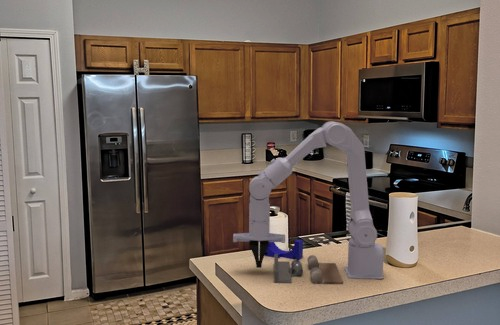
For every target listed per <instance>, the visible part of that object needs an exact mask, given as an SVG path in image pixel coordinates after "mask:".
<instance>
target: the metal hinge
mask: <svg viewBox="0 0 500 325" xmlns="http://www.w3.org/2000/svg"><path fill="white" fill-rule="evenodd" d="M273 263H274V264H273V268H274V269H273V270H274V272H273V273H274V274H273V276H274V283H276V284H278V283H279V284H280V283H281V284H292V279H293V278H292V277H299V276H301V275H302V274H303V271H304V269H303V263H302V262H301V260H296V259H293V260H292V262H291V263H290V261H284V260H283V261H281V260H280V261H279V258H278V254H274V257H273Z"/></svg>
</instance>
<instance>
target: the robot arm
mask: <svg viewBox="0 0 500 325" xmlns="http://www.w3.org/2000/svg"><path fill="white" fill-rule="evenodd" d="M327 144H329V145H330V146H332V147H334V148H337V149H339V150H340V151H342V152H343V153H344V154H345V156H346V167H347V176H348V188H349V200H350V212H349V221H348V224H347V231H348V233H349V234H350V237H349V239H348V247H347V248H348V249H347V266H344V271H345V273H346V275H347V278H348V279H365V280H366V279H368V280H369V279H371V280H383V279H384V276H383V274H384V249H383V248H384V247H383V245H382V244H381V243H376V241H377V238H378V231H377V229H376V228H375V226H374V221H373V218H372V214H371V211H370V203H369V202H370V201H369V190H368V188H369V187H368V181H367V180H368V179H367V178H368V176H367V166H366V154H365V146H364V144H363V143H362V142H361V140H360V139H359V138H358V137H357V135H356V134H355V133H354V131H353V130H352V128H351V127H349V126H347V125H345V124H344V123H343V122H337V121H333V120H331V121H327V122H325V123H323V125H322V126H321V127H318V128H317V129H315V130H314V131H313V132H312V133H310V134H309V135H308V136H307V137H305V139H303V141H301V142H300V143H299V144H298V145H297V146H296V147H295V148H294V149H293V150H292V151H290V153H288V155H287V156H285V157H277V158H276V159H275V158H273V159H272V160H270V164H269V165H268V166H267V167H266V168H264V169H263V170H262V171H259V172H257V176H254V177H253V178H252V179H251V180H250V182H249V185H248V190H249V193H250V195H249V202H248V203H249V204H248V206H249V207H248V208H249V211H248V213H249V216H248V232H243V233H240V232H239V233H233V236H232V243H237V242H242V243H243V242H244V243H245V242H248V243H249V247H250V250H251V252H252V254H253V257H254V260H255V266H256V268H259V269H261V268H262V265H263V260H264V257H265V256H266V255H265V252H266V250H267V248H268V246H269V242H274V243H282V244H286V234H280V233H270V228H271V226H270V225H271V222H270V221H271V220H270V217H271V216H270V214H271V213H270V212H271V210H270V207H271V203H270V195H271V193H272V189H275V188H277V187H278V186H279V185H280V184H281V183H282V182H283V181H285V180H286V179H287V178H288V177H290V176H291V175H292V173H293V167H294V166H295V165H297V163H299V162H301V160H302V159H305V157H307V156H308V155H309V154H310V153H311V152H312V151H314V150H316V149H319V148H320V149H321V148H325V147H326V148H327ZM264 255H265V256H264Z"/></svg>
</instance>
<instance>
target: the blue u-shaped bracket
mask: <svg viewBox="0 0 500 325" xmlns="http://www.w3.org/2000/svg"><path fill="white" fill-rule="evenodd" d="M303 250H304V239H296V240H295V241H294V245H293V247H292V249H291V250H285V249H284V250H283V249H281V248H279V246H277V244H276V242H269V246H268V248H267V250H266V252H265V255H264V257H265V256H266V257H269V258H274V254H278V259H280V258H283V259H284V258H285V259H289V260H299V261H301V259H303V257H304V255H303V254H304V252H303Z"/></svg>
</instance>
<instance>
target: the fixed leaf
mask: <svg viewBox="0 0 500 325" xmlns="http://www.w3.org/2000/svg"><path fill="white" fill-rule="evenodd" d="M306 262H307V265H308V269H310V272H309V274H310V278H311V281H312V282H313V284H315V285H343V284H344V281H343V279H342V276H341V273H340V271H339V269H338V266H337V264H336V263H335V262H319V260H318V258H317V256H316V255H313V254H312V255H309V256H308V257H307V260H306Z"/></svg>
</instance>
